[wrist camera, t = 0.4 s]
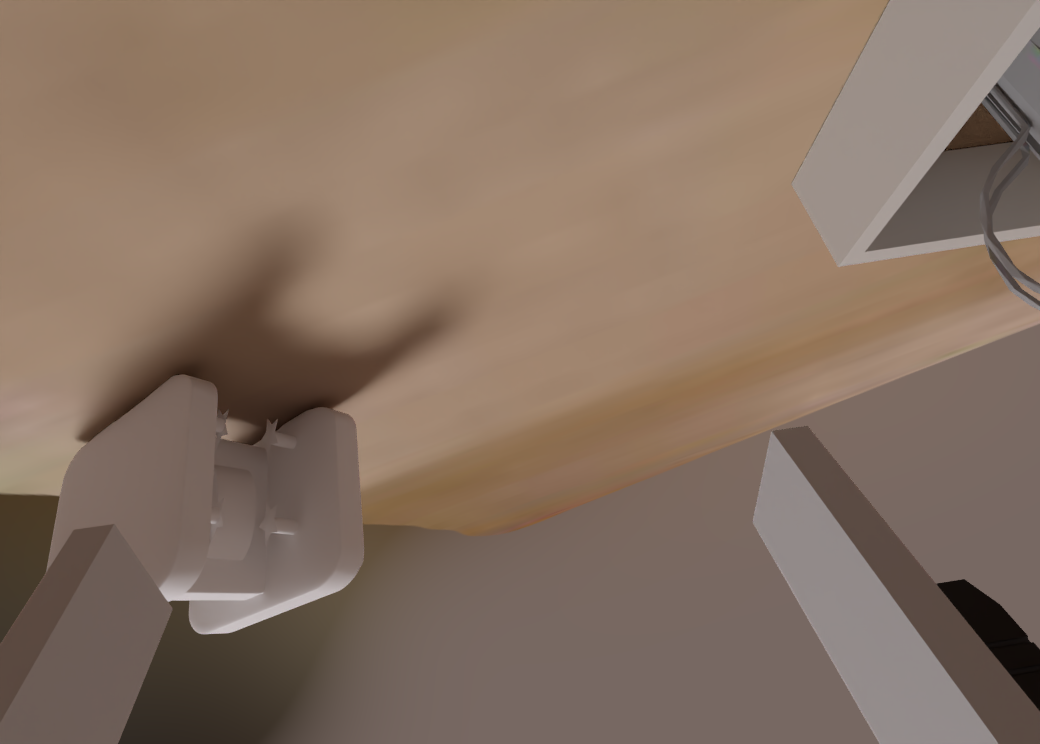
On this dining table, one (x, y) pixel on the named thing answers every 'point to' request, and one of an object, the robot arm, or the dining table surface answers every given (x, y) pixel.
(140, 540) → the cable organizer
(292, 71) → the dining table surface
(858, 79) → the white open storage bin
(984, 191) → the french press
